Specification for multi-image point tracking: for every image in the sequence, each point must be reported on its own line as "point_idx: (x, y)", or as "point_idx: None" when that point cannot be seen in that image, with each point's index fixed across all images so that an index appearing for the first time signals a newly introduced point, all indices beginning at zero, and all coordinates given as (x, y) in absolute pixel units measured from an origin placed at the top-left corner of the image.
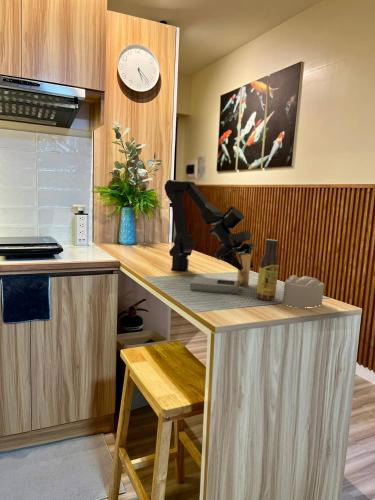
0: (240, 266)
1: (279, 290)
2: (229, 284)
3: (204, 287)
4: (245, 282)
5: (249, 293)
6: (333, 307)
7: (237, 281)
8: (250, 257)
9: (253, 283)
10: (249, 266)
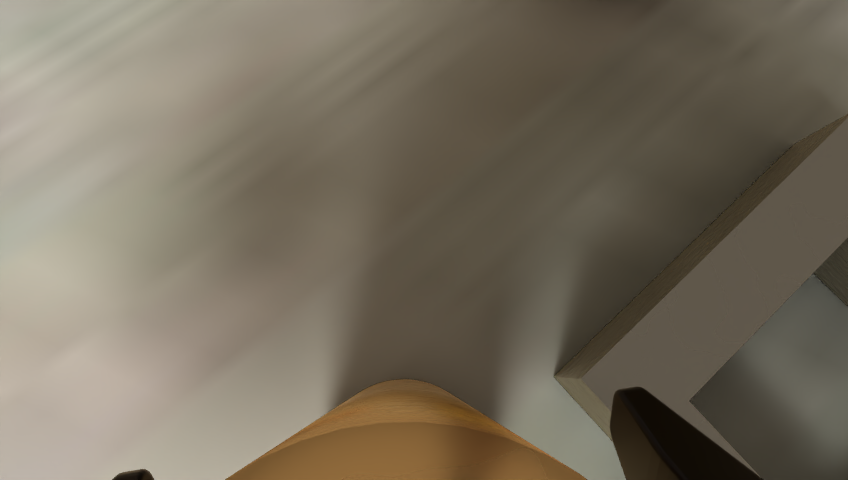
0: (691, 425)
1: (172, 40)
2: None
3: None
4: (437, 387)
5: (635, 121)
6: None
7: (645, 376)
8: (308, 431)
9: (161, 467)
10: (362, 398)
